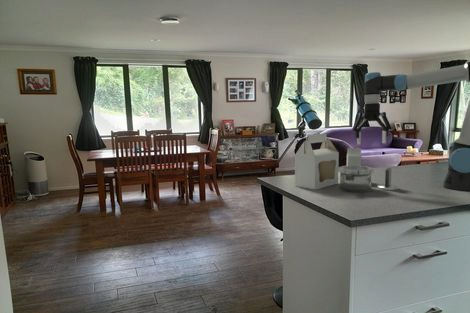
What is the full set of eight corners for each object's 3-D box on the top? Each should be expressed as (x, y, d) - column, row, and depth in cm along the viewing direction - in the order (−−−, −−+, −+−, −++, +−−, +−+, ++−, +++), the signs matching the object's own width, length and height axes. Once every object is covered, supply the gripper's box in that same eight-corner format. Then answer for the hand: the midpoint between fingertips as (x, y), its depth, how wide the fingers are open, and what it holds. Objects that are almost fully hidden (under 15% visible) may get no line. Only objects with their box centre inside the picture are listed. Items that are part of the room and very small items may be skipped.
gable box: (318, 180, 201) (319, 132, 197) (338, 183, 191) (339, 133, 188) (294, 186, 187) (294, 134, 183) (314, 190, 177) (314, 135, 173)
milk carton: (361, 182, 191) (361, 148, 189) (347, 182, 193) (348, 148, 190) (359, 180, 198) (359, 147, 196) (346, 179, 200) (346, 147, 197)
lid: (400, 187, 177) (400, 168, 176) (396, 191, 169) (397, 171, 168) (379, 185, 183) (380, 166, 182) (375, 189, 175) (376, 169, 173)
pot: (375, 187, 179) (375, 166, 177) (365, 196, 161) (365, 173, 160) (344, 184, 187) (344, 164, 186) (331, 192, 170) (331, 170, 168)
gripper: (391, 102, 182) (391, 142, 185) (345, 104, 181) (345, 144, 183) (399, 102, 175) (398, 143, 177) (351, 103, 173) (351, 145, 176)
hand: (371, 143), depth 180 cm, fingers open, 13 cm apart
